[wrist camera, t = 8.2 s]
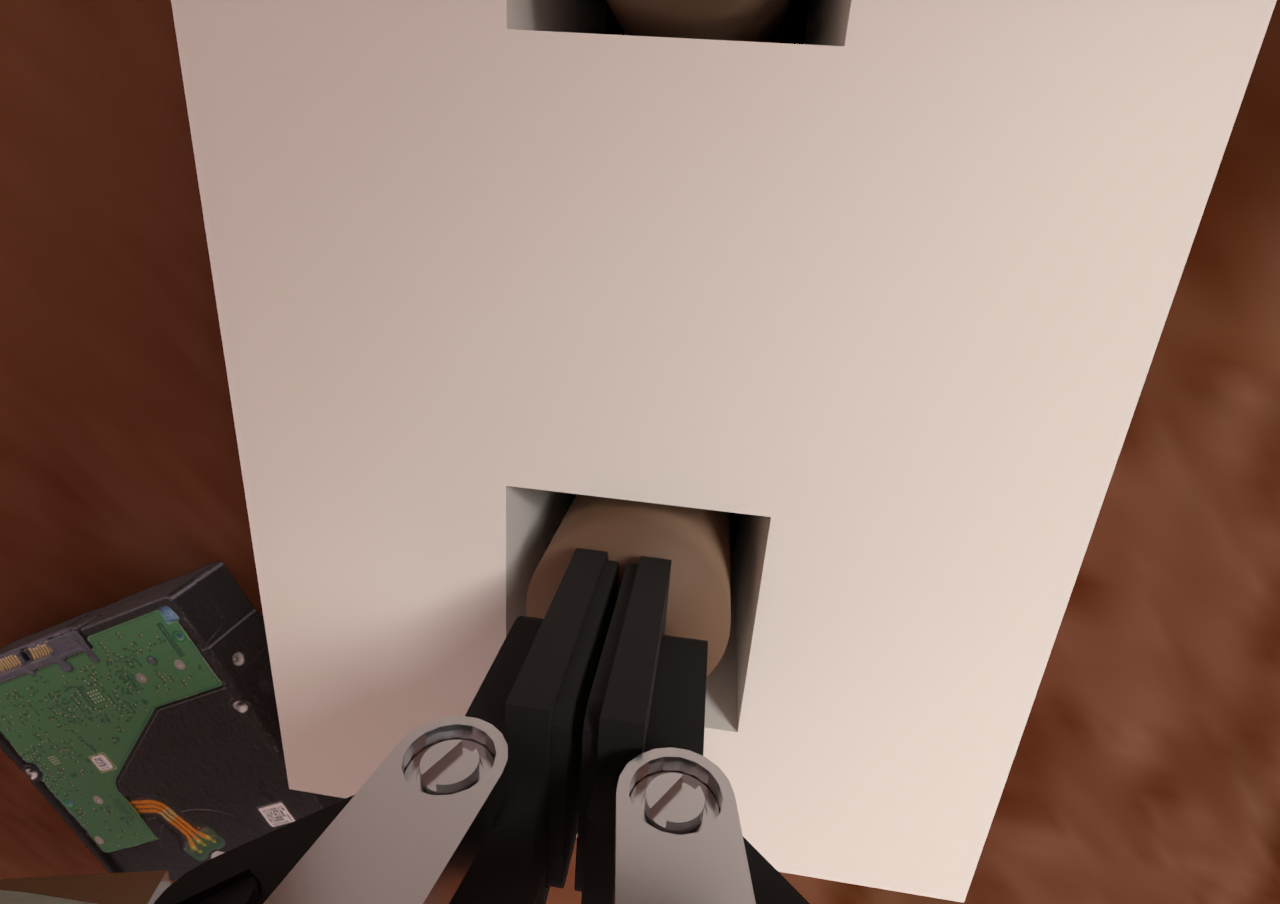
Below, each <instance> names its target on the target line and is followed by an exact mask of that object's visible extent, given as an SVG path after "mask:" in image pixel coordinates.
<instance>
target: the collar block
mask: <svg viewBox="0 0 1280 904" xmlns="http://www.w3.org/2000/svg"><path fill="white" fill-rule="evenodd" d="M1276 1H1277V0H810V2H809V10H808V17H807V24H806V32H805V39H804V44H787V43H768V42H748V41H728V40H709V39H689V38H670V37H650V36H630V35H611V34H605V27H606V5H607V2H606V0H171V4H172V11H173V17H174V24H175V31H176V37H177V44H178V51H179V57H180V64H181V71H182V77H183V84H184V91H185V97H186V104H187V111H188V117H189V124H190V131H191V137H192V144H193V151H194V157H195V164H196V171H197V177H198V184H199V191H200V197H201V204H202V211H203V217H204V224H205V231H206V237H207V244H208V251H209V257H210V264H211V271H212V277H213V284H214V291H215V298H216V304H217V311H218V318H219V324H220V331H221V338H222V344H223V351H224V358H225V364H226V371H227V378H228V384H229V391H230V398H231V404H232V411H233V418H234V424H235V431H236V438H237V444H238V451H239V458H240V464H241V471H242V478H243V484H244V491H245V498H246V504H247V511H248V518H249V524H250V531H251V538H252V544H253V551H254V558H255V564H256V571H257V578H258V584H259V591H260V598H261V604H262V611H263V618H264V624H265V631H266V638H267V644H268V651H269V658H270V664H271V671H272V678H273V685H274V691H275V698H276V705H277V711H278V718H279V725H280V731H281V738H282V745H283V751H284V758H285V765H286V771H287V778H288V785H289V789H292V790H298V791H304V792H310V793H316V794H322V795H328V796H334V797H340V798H345V799H346V798H348V797H350V796H353V795H355V794H356V793H357V792H358V791H359V789H360V788H361V787H362V786H363V785H364V784H365V782H366V781H367V780H368V779H369V778H370V776H371V775H372V774H373V773H374V772H375V771H376V769H377V768H378V767H379V766H380V765H381V763H382V762H383V761H384V760H385V759H386V757H387V756H388V755H389V754H390V753H391V752H392V750H393V749H394V748H395V747H396V746H397V744H398V743H399V742H400V741H401V740H402V739H404V738H405V737H406V736H407V735H408V734H409V733H410V732H411V731H413V730H415V729H416V728H418V727H420V726H422V725H424V724H426V723H427V722H431V721H434V720H437V719H441V718H444V717H454V716H465V715H466V713H467V711H468V709H469V707H470V705H471V703H472V701H473V699H474V697H475V696H476V694H477V692H478V690H479V688H480V686H481V684H482V682H483V680H484V678H485V677H486V675H487V673H488V671H489V669H490V667H491V665H492V663H493V661H494V659H495V658H496V656H497V654H498V652H499V650H500V648H501V646H502V644H503V642H504V640H505V639H506V637H507V635H508V633H509V631H510V629H511V627H512V625H513V623H514V622H515V620H516V619H517V617H519V616H526V598H527V591H528V587H529V583H530V581H531V578H532V576H533V573H534V571H535V569H536V568H537V566H538V564H539V562H540V560H541V559H542V557H543V555H544V553H545V551H546V549H547V548H548V546H549V544H550V542H551V540H552V538H553V537H554V535H555V533H556V531H557V529H558V527H559V526H560V524H561V522H562V520H563V518H564V516H565V515H566V513H567V511H568V509H569V507H570V505H571V504H572V502H573V500H574V498H575V496H576V495H577V494H579V495H588V496H596V497H605V498H613V499H622V500H630V501H639V502H647V503H655V504H664V505H672V506H681V507H689V508H698V509H706V510H715V511H723V512H731V513H739V521H738V528H737V535H736V542H735V550H734V551H730V588H731V625H730V635H729V640H728V644H727V647H726V649H725V652H724V654H723V656H722V658H721V660H720V661H719V663H718V665H717V666H716V667H715V669H714V670H713V671H712V672H711V674H710V675H709V676H707V677H706V701H705V725H704V749H703V756H704V757H706V758H707V759H709V760H710V761H711V762H713V763H714V764H715V765H717V766H718V767H719V768H720V769H721V770H722V772H723V773H724V774H725V775H726V777H727V778H728V779H729V781H730V784H731V786H732V789H733V792H734V794H735V799H736V804H737V809H738V814H739V820H740V825H741V830H742V835H743V837H744V838H745V839H746V840H747V841H748V842H749V843H750V844H751V845H752V846H753V847H754V848H755V849H756V850H757V851H758V852H759V853H760V854H761V855H762V856H763V857H764V858H765V859H766V860H767V861H768V862H769V863H770V864H771V865H772V866H773V867H774V868H775V869H776V870H777V871H779V872H784V873H790V874H796V875H802V876H808V877H814V878H820V879H826V880H832V881H838V882H844V883H850V884H856V885H862V886H868V887H873V888H879V889H885V890H891V891H897V892H903V893H909V894H915V895H921V896H927V897H933V898H939V899H945V900H951V901H956V902H962V903H964V901H965V898H966V895H967V892H968V889H969V887H970V884H971V881H972V878H973V875H974V872H975V869H976V866H977V864H978V861H979V858H980V855H981V852H982V849H983V846H984V843H985V840H986V838H987V835H988V832H989V829H990V826H991V823H992V820H993V817H994V815H995V812H996V809H997V806H998V803H999V800H1000V797H1001V794H1002V791H1003V789H1004V786H1005V783H1006V780H1007V777H1008V774H1009V771H1010V768H1011V765H1012V763H1013V760H1014V757H1015V754H1016V751H1017V748H1018V745H1019V742H1020V740H1021V737H1022V734H1023V731H1024V728H1025V725H1026V722H1027V719H1028V716H1029V714H1030V711H1031V708H1032V705H1033V702H1034V699H1035V696H1036V693H1037V691H1038V688H1039V685H1040V682H1041V679H1042V676H1043V673H1044V670H1045V667H1046V665H1047V662H1048V659H1049V656H1050V653H1051V650H1052V647H1053V644H1054V641H1055V639H1056V636H1057V633H1058V630H1059V627H1060V624H1061V621H1062V618H1063V616H1064V613H1065V610H1066V607H1067V604H1068V601H1069V598H1070V595H1071V592H1072V590H1073V587H1074V584H1075V581H1076V578H1077V575H1078V572H1079V569H1080V566H1081V564H1082V561H1083V558H1084V555H1085V552H1086V549H1087V546H1088V543H1089V541H1090V538H1091V535H1092V532H1093V529H1094V526H1095V523H1096V520H1097V517H1098V515H1099V512H1100V509H1101V506H1102V503H1103V500H1104V497H1105V494H1106V492H1107V489H1108V486H1109V483H1110V480H1111V477H1112V474H1113V471H1114V468H1115V466H1116V463H1117V460H1118V457H1119V454H1120V451H1121V448H1122V445H1123V442H1124V440H1125V437H1126V434H1127V431H1128V428H1129V425H1130V422H1131V419H1132V417H1133V414H1134V411H1135V408H1136V405H1137V402H1138V399H1139V396H1140V393H1141V391H1142V388H1143V385H1144V382H1145V379H1146V376H1147V373H1148V370H1149V368H1150V365H1151V362H1152V359H1153V356H1154V353H1155V350H1156V347H1157V344H1158V342H1159V339H1160V336H1161V333H1162V330H1163V327H1164V324H1165V321H1166V318H1167V316H1168V313H1169V310H1170V307H1171V304H1172V301H1173V298H1174V295H1175V293H1176V290H1177V287H1178V284H1179V281H1180V278H1181V275H1182V272H1183V269H1184V267H1185V264H1186V261H1187V258H1188V255H1189V252H1190V249H1191V246H1192V243H1193V241H1194V238H1195V235H1196V232H1197V229H1198V226H1199V223H1200V220H1201V218H1202V215H1203V212H1204V209H1205V206H1206V203H1207V200H1208V197H1209V194H1210V192H1211V189H1212V186H1213V183H1214V180H1215V177H1216V174H1217V171H1218V169H1219V166H1220V163H1221V160H1222V157H1223V154H1224V151H1225V148H1226V145H1227V143H1228V140H1229V137H1230V134H1231V131H1232V128H1233V125H1234V122H1235V119H1236V117H1237V114H1238V111H1239V108H1240V105H1241V102H1242V99H1243V96H1244V94H1245V91H1246V88H1247V85H1248V82H1249V79H1250V76H1251V73H1252V70H1253V68H1254V65H1255V62H1256V59H1257V56H1258V53H1259V50H1260V47H1261V45H1262V42H1263V39H1264V36H1265V33H1266V30H1267V27H1268V24H1269V21H1270V19H1271V16H1272V13H1273V10H1274V7H1275V4H1276ZM576 837H577V836H576Z"/></svg>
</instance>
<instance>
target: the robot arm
mask: <svg viewBox="0 0 1280 904" xmlns="http://www.w3.org/2000/svg"><path fill="white" fill-rule="evenodd" d="M671 562H672V560H669V559H661V558H653V557H645V556H641V557H640V561H639V564H635V563H627V566H626V570H625V573H624V577H623V580H622V584H621V587H620V591H619V594H618V598H617V587H618V572H619V562H618V561H611V560H608V552H605V551H597V550H589V549H581V548H576V550H575V552H574V554H573V556H572V558H571V561H570V563H569V565H568V567H567V569H566V572H565V574H564V576H563V578H562V580H561V583H560V585H559V587H558V589H557V591H556V594H555V596H554V598H553V600H552V602H551V604H550V607H549V609H548V611H547V613H546V615H545V618H544V619H542V618H535V617H527V616H519V617H517V619H516V620H515V622H514V623H513V625H512V627H511V629H510V631H509V633H508V635H507V637H506V639H505V640H504V642H503V644H502V646H501V648H500V650H499V652H498V654H497V656H496V658H495V659H494V661H493V663H492V665H491V667H490V669H489V671H488V673H487V675H486V677H485V678H484V680H483V682H482V684H481V686H480V688H479V690H478V692H477V694H476V696H475V697H474V699H473V701H472V703H471V705H470V707H469V709H468V711H467V713H466V715H465V716H454V717H444V718H441V719H437V720H434V721H431V722H427V723H426V724H424V725H422V726H420V727H418V728H416V729H415V730H413V731H411V732H410V733H409V734H408V735H407V736H406V737H405V738H404V739H402V740H401V741H400V742H399V743H398V744H397V746H396V747H395V748H394V749H393V750H392V752H391V753H390V754H389V755H388V756H387V757H386V759H385V760H384V761H383V762H382V763H381V765H380V766H379V767H378V768H377V769H376V771H375V772H374V773H373V774H372V775H371V776H370V778H369V779H368V780H367V781H366V782H365V784H364V785H363V786H362V787H361V788H360V789H359V791H358V792H357V793H356V794H355V795H353V796H350V797H348V798H346V799H344V800H341V801H339V802H337V803H335V804H332V805H330V806H328V807H326V808H323V809H321V810H319V811H317V812H315V813H312V814H310V815H308V816H306V817H303V818H301V819H299V820H297V821H294V822H292V823H290V824H288V825H286V826H283V827H281V828H279V829H277V830H274V831H272V832H270V833H268V834H265V835H263V836H261V837H259V838H257V839H254V840H252V841H250V842H248V843H245V844H243V845H241V846H239V847H236V848H234V849H232V850H230V851H228V852H225V853H223V854H221V855H219V856H216V857H214V858H212V859H210V860H208V861H206V862H204V863H202V864H201V865H199V866H197V867H195V868H194V869H192V870H190V871H188V872H186V873H185V874H184V875H183V876H181V877H180V878H179V879H178V880H170V879H169V875H168V871H167V870H159V871H142V872H124V873H106V874H89V875H71V876H53V877H36V878H18V879H1V880H0V904H546V900H547V896H548V893H549V889H550V886H552V887H558V888H563V887H564V884H565V881H566V877H567V873H568V869H569V865H570V861H571V857H572V852H573V848H574V844H575V840H576V836H577V849H576V868H575V891H581V892H582V901H581V904H809V903H808V902H807V901H806V900H805V899H804V898H803V897H802V895H801V894H800V893H799V892H798V891H797V890H796V889H795V888H794V887H793V886H792V885H791V884H790V883H789V882H788V881H787V880H786V879H785V878H784V877H783V876H782V875H781V874H780V873H779V872H778V871H777V870H776V869H775V868H774V867H773V866H772V865H771V864H770V863H769V862H768V861H767V860H766V859H765V858H764V857H763V856H762V855H761V854H760V853H759V852H758V851H757V850H756V849H755V848H754V847H753V846H752V845H751V844H750V843H749V842H748V841H747V840H746V839H745V838H744V837H743V835H742V830H741V825H740V820H739V814H738V809H737V804H736V799H735V794H734V792H733V789H732V786H731V784H730V781H729V779H728V778H727V777H726V775H725V774H724V773H723V772H722V770H721V769H720V768H719V767H718V766H717V765H715V764H714V763H713V762H711V761H710V760H709V759H707V758H706V757H704V756H703V749H704V725H705V701H706V676H707V652H708V641H705V640H698V639H690V638H683V637H675V636H668V635H664V633H665V623H666V613H667V603H668V593H669V583H670V573H671Z"/></svg>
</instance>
